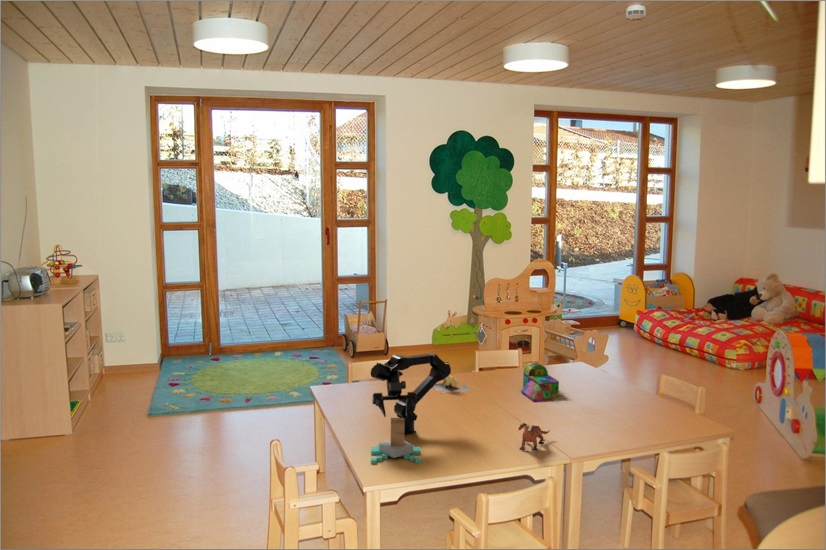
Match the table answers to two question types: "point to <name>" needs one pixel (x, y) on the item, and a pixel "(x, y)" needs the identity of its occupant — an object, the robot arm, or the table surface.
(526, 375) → the block puzzle
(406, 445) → the slate block
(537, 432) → the brown animal figure
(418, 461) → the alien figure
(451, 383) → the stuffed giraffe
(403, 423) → the walnut block
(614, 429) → the table surface
